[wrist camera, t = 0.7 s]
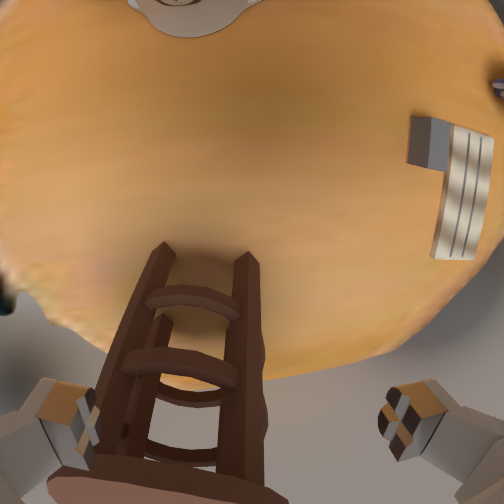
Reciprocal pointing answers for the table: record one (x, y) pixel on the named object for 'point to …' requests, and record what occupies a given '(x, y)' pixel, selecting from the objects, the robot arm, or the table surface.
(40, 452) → the robot arm
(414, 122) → the block
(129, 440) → the stool
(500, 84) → the toy
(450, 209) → the board
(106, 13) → the table surface
